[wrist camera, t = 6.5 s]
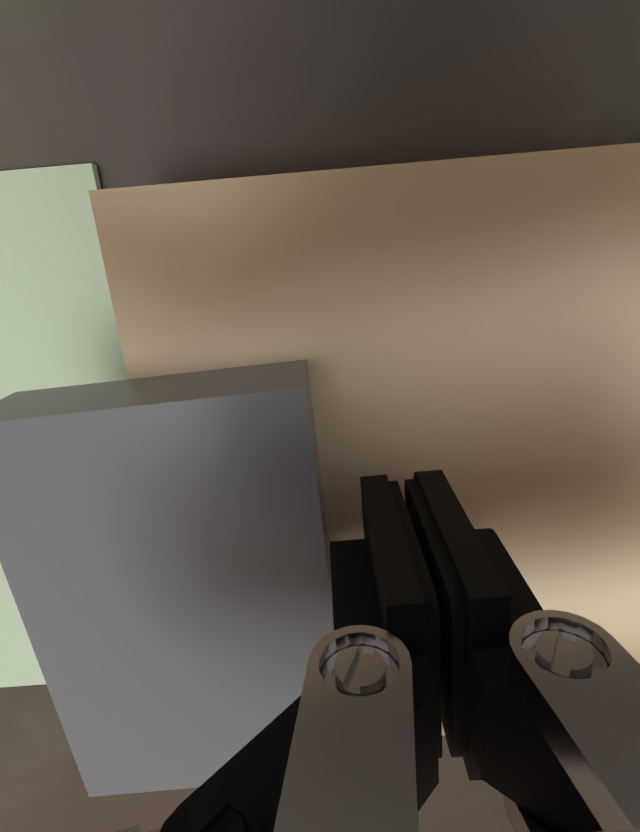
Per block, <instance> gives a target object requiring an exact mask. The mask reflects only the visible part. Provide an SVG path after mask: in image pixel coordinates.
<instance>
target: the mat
mask: <svg viewBox="0 0 640 832" xmlns="http://www.w3.org/2000/svg"><path fill="white" fill-rule="evenodd" d="M100 189H101V185H100V180H99V175H98V170H97V165H96V164H93V163H87V164H75V165H64V166H52V167H41V168H30V169H18V170H7V171H0V400H1V399H3V398H5V397H6V396H8V395H10V394H12V393H14V392H20V391H29V390H38V389H47V388H56V387H65V386H74V385H83V384H92V383H101V382H110V381H119V380H127V379H128V376H127V371H126V366H125V362H124V357H123V352H122V347H121V343H120V338H119V333H118V329H117V324H116V319H115V314H114V310H113V305H112V300H111V296H110V291H109V286H108V281H107V277H106V272H105V267H104V262H103V258H102V253H101V248H100V244H99V239H98V234H97V229H96V225H95V220H94V215H93V211H92V206H91V201H90V196H89V192H88V191H89V190H100ZM40 684H46V682H45V679H44V676H43V674H42V671H41V668H40V666H39V663H38V661H37V658H36V655H35V653H34V650H33V647H32V645H31V642H30V639H29V637H28V634H27V632H26V629H25V626H24V624H23V621H22V618H21V616H20V613H19V610H18V608H17V605H16V603H15V600H14V597H13V595H12V592H11V589H10V587H9V584H8V581H7V579H6V576H5V574H4V571H3V568H2V566H1V563H0V687H12V686H26V685H40Z"/></svg>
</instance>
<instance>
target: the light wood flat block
mask: <svg viewBox="0 0 640 832" xmlns="http://www.w3.org/2000/svg"><path fill="white" fill-rule="evenodd" d="M88 192H89V196H90V201H91V206H92V211H93V215H94V220H95V225H96V229H97V234H98V239H99V244H100V248H101V253H102V258H103V262H104V267H105V272H106V277H107V281H108V286H109V291H110V296H111V300H112V305H113V310H114V314H115V319H116V324H117V329H118V333H119V338H120V343H121V347H122V352H123V357H124V362H125V366H126V371H127V376H128V379H136V378H145V377H154V376H163V375H172V374H181V373H190V372H199V371H208V370H217V369H226V368H235V367H244V366H253V365H261V364H270V363H279V362H288V361H297V360H306V359H307V367H308V375H309V383H310V391H311V399H312V408H313V416H314V424H315V432H316V440H317V448H318V456H319V465H320V473H321V481H322V489H323V497H324V505H325V513H326V522H327V530H328V538H329V546H330V542H331V541H342V540H354V539H364V527H363V513H362V499H361V485H360V477H362V476H373V475H385V474H386V475H387V477H388V481H395V480H397V481H398V483H399V486H400V489H401V492H402V495H403V498H404V501H405V489H404V483H405V480H407V479H413V476H414V472H419V471H431V470H442V471H443V473H444V475H445V477H446V478H447V480H448V482H449V484H450V486H451V488H452V489H453V491H454V493H455V495H456V497H457V498H458V500H459V502H460V504H461V506H462V508H463V509H464V511H465V513H466V515H467V517H468V518H469V520H470V522H471V524H472V526H473V528H474V529H484V528H491V529H493V530H494V531H495V532H496V534H497V535H498V537H499V539H500V540H501V542H502V544H503V545H504V547H505V548H506V550H507V552H508V553H509V555H510V557H511V558H512V560H513V561H514V563H515V565H516V566H517V568H518V570H519V571H520V573H521V574H522V576H523V578H524V579H525V581H526V583H527V584H528V586H529V587H530V589H531V591H532V592H533V594H534V596H535V597H536V599H537V600H538V602H539V604H540V605H541V607H542V609H543V610H557V611H565V612H569V613H573V614H576V615H579V616H582V617H585V618H587V619H588V620H590V621H592V622H594V623H596V624H598V625H600V626H601V627H602V628H603V629H604V630H606V631H607V632H608V633H609V634H611V635H612V636H613V637H614V638H615V639H616V640H617V641H618V642H619V643H620V644H621V645H622V646H623V647H624V648H625V649H626V651H627V652H628V653H629V654H630V655H631V656H632V657H633V658H634V659H635V660H636V661H637V662H638V663H639V664H640V143H629V144H618V145H606V146H595V147H583V148H572V149H560V150H549V151H537V152H526V153H514V154H503V155H491V156H480V157H468V158H457V159H445V160H434V161H422V162H411V163H399V164H388V165H376V166H365V167H353V168H342V169H330V170H319V171H307V172H296V173H284V174H273V175H261V176H250V177H238V178H227V179H215V180H204V181H192V182H181V183H169V184H158V185H146V186H135V187H123V188H112V189H100V190H89V191H88ZM443 735H445V733H444V729H443V725H442V736H443Z"/></svg>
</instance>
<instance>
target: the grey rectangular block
mask: <svg viewBox="0 0 640 832" xmlns="http://www.w3.org/2000/svg"><path fill="white" fill-rule="evenodd" d="M0 563H1V566H2V568H3V571H4V574H5V576H6V579H7V581H8V584H9V587H10V589H11V592H12V595H13V597H14V600H15V603H16V605H17V608H18V610H19V613H20V616H21V618H22V621H23V624H24V626H25V629H26V632H27V634H28V637H29V639H30V642H31V645H32V647H33V650H34V653H35V655H36V658H37V661H38V663H39V666H40V668H41V671H42V674H43V676H44V679H45V682H46V684H47V687H48V690H49V692H50V695H51V697H52V700H53V703H54V705H55V708H56V711H57V713H58V716H59V719H60V721H61V724H62V726H63V729H64V732H65V734H66V737H67V740H68V742H69V745H70V748H71V750H72V753H73V755H74V758H75V761H76V763H77V766H78V769H79V771H80V774H81V777H82V779H83V782H84V784H85V787H86V790H87V792H88V795H89V797H95V796H106V795H117V794H129V793H140V792H151V791H162V790H173V789H184V788H195V787H200V786H201V785H202V784H203V783H204V782H205V781H206V780H208V779H209V778H210V777H211V776H212V775H213V774H214V773H215V772H216V771H218V770H219V769H220V768H221V767H222V766H223V765H224V764H225V763H226V762H228V761H229V760H230V759H231V758H232V757H233V756H234V755H235V754H236V753H237V752H239V751H240V750H241V749H242V748H243V747H244V746H245V745H246V744H247V743H249V742H250V741H251V740H252V739H253V738H254V737H255V736H256V735H257V734H258V733H260V732H261V731H262V730H263V729H264V728H265V727H266V726H267V725H268V724H270V723H271V722H272V721H273V720H274V719H275V718H276V717H277V716H278V715H279V714H281V713H282V712H283V711H284V710H285V709H286V708H287V707H288V706H289V705H291V704H292V703H293V702H294V701H295V700H296V699H297V698H298V697H299V696H301V693H302V688H303V684H304V679H305V674H306V669H307V664H308V660H309V657H310V655H311V652H312V650H313V648H314V647H315V645H316V644H317V643H318V642H319V641H320V640H321V639H322V638H323V637H324V636H326V635H328V634H329V633H331V632H332V631H334V625H333V604H332V584H331V564H330V546H329V538H328V530H327V522H326V513H325V505H324V497H323V489H322V481H321V473H320V465H319V456H318V448H317V440H316V432H315V424H314V416H313V408H312V399H311V391H310V383H309V375H308V367H307V359H306V360H297V361H288V362H279V363H270V364H261V365H253V366H244V367H235V368H226V369H217V370H208V371H199V372H190V373H181V374H172V375H163V376H154V377H145V378H136V379H127V380H119V381H110V382H101V383H92V384H83V385H74V386H65V387H56V388H47V389H38V390H29V391H20V392H14V393H12V394H10V395H8V396H6V397H5V398H3V399H1V400H0Z"/></svg>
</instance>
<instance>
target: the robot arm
mask: <svg viewBox="0 0 640 832" xmlns="http://www.w3.org/2000/svg"><path fill="white" fill-rule="evenodd" d="M360 485H361V499H362V513H363V527H364V539H354V540H342V541H331V542H330V564H331V584H332V604H333V625H334V631H332V632H331V633H329V634H328V635H326V636H324V637H323V638H322V639H321V640H320V641H319V642H318V643H317V644H316V645H315V647H314V648H313V650H312V652H311V655H310V657H309V660H308V664H307V669H306V674H305V679H304V684H303V688H302V693H301V696H299V697H298V698H297V699H296V700H295V701H294V702H293V703H292V704H291V705H289V706H288V707H287V708H286V709H285V710H284V711H283V712H282V713H281V714H279V715H278V716H277V717H276V718H275V719H274V720H273V721H272V722H271V723H270V724H268V725H267V726H266V727H265V728H264V729H263V730H262V731H261V732H260V733H258V734H257V735H256V736H255V737H254V738H253V739H252V740H251V741H250V742H249V743H247V744H246V745H245V746H244V747H243V748H242V749H241V750H240V751H239V752H237V753H236V754H235V755H234V756H233V757H232V758H231V759H230V760H229V761H228V762H226V763H225V764H224V765H223V766H222V767H221V768H220V769H219V770H218V771H216V772H215V773H214V774H213V775H212V776H211V777H210V778H209V779H208V780H206V781H205V782H204V783H203V784H202V785H201V786H200V787H199V788H198V789H197V790H195V791H194V792H193V793H192V794H191V795H190V796H189V797H188V798H187V799H185V800H184V801H183V802H182V803H181V804H180V805H179V806H178V807H177V808H176V810H175V811H174V812H173V813H172V814H171V815H170V816H169V818H168V819H167V820H166V821H165V822H164V824H163V826H162V827H161V828H158V829H155V830H152V831H149V832H419V828H418V811H419V810H420V808H421V807H422V805H423V804H424V803H425V801H426V800H427V798H428V797H429V796H430V794H431V793H432V791H433V790H434V789H435V787H436V786H437V784H438V783H439V772H438V758H442V725H443V729H444V733H445V736H446V740H447V744H448V748H449V751H450V754H451V756H452V757H463V759H464V763H465V766H466V770H467V773H468V777H469V780H470V781H471V780H484V781H485V782H486V783H488V784H489V785H491V786H492V787H493V788H495V789H496V790H498V791H499V792H501V793H502V794H503V803H504V806H505V809H506V813H507V816H508V819H509V821H510V823H511V825H512V827H513V829H514V831H515V832H640V664H639V663H638V662H637V661H636V660H635V659H634V658H633V657H632V656H631V655H630V654H629V653H628V652H627V651H626V649H625V648H624V647H623V646H622V645H621V644H620V643H619V642H618V641H617V640H616V639H615V638H614V637H613V636H612V635H611V634H609V633H608V632H607V631H606V630H604V629H603V628H602V627H601V626H600V625H598V624H596V623H594V622H592V621H590V620H588V619H587V618H585V617H582V616H579V615H576V614H573V613H569V612H565V611H557V610H543V609H542V607H541V605H540V604H539V602H538V600H537V599H536V597H535V596H534V594H533V592H532V591H531V589H530V587H529V586H528V584H527V583H526V581H525V579H524V578H523V576H522V574H521V573H520V571H519V570H518V568H517V566H516V565H515V563H514V561H513V560H512V558H511V557H510V555H509V553H508V552H507V550H506V548H505V547H504V545H503V544H502V542H501V540H500V539H499V537H498V535H497V534H496V532H495V531H494V530H493V529H491V528H484V529H474V528H473V526H472V524H471V522H470V520H469V518H468V517H467V515H466V513H465V511H464V509H463V508H462V506H461V504H460V502H459V500H458V498H457V497H456V495H455V493H454V491H453V489H452V488H451V486H450V484H449V482H448V480H447V478H446V477H445V475H444V473H443V471H442V470H431V471H419V472H414V476H413V479H407V480H405V483H404V489H405V501H404V498H403V495H402V492H401V489H400V486H399V483H398V481H397V480H395V481H388V477H387V475H386V474H385V475H373V476H362V477H360ZM117 832H142V831H141V828H140V824H139V825H136V826H133V827H129V828H126V829H123V830H120V831H117Z"/></svg>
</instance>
